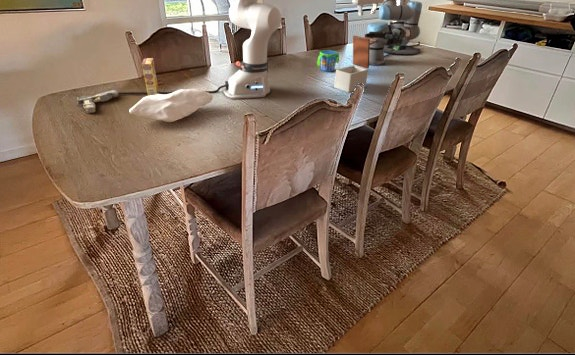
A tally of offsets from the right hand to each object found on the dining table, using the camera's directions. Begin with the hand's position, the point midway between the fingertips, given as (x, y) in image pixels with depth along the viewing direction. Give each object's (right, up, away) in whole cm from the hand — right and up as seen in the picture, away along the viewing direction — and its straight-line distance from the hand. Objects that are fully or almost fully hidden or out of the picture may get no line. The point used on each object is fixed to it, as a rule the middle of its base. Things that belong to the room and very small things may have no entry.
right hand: (375, 39), depth 184 cm
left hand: (-7, +7, -13) cm, 16 cm away
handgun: (-125, -38, -28) cm, 134 cm away
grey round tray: (+32, +22, +77) cm, 86 cm away
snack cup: (-22, -8, +26) cm, 35 cm away
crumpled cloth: (-92, -44, -35) cm, 108 cm away
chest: (-13, -24, +2) cm, 27 cm away
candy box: (-107, -32, -17) cm, 112 cm away
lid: (-9, -8, -4) cm, 12 cm away
